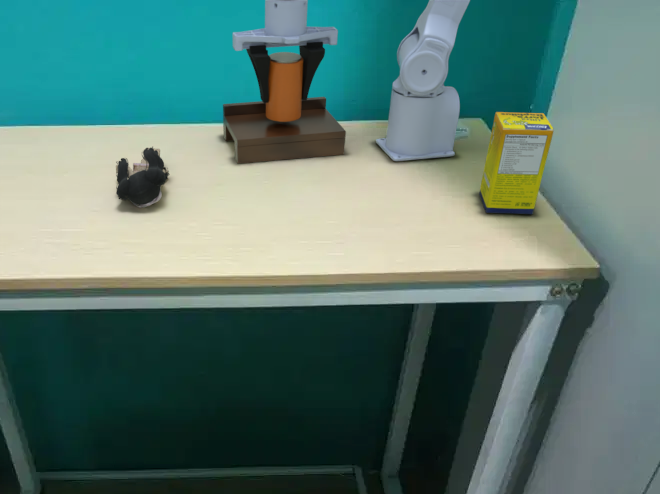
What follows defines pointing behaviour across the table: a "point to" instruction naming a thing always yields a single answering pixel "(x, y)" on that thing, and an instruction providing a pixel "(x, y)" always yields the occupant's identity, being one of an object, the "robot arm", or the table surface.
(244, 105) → the shelf
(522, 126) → the supplement box
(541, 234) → the table surface
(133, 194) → the toy figure
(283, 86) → the can
